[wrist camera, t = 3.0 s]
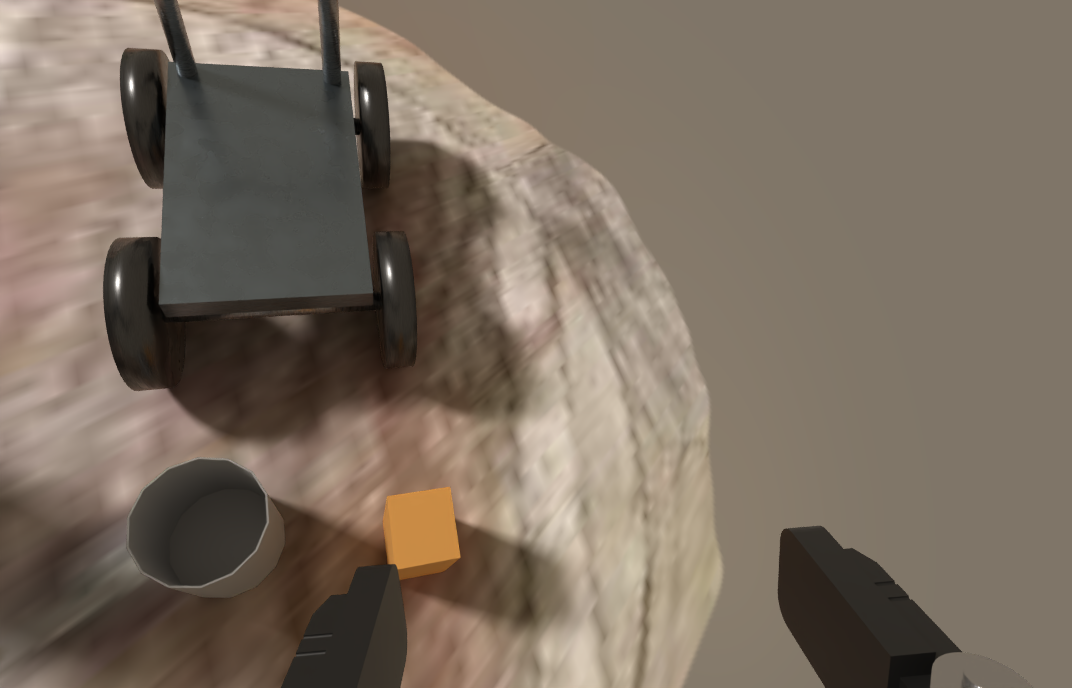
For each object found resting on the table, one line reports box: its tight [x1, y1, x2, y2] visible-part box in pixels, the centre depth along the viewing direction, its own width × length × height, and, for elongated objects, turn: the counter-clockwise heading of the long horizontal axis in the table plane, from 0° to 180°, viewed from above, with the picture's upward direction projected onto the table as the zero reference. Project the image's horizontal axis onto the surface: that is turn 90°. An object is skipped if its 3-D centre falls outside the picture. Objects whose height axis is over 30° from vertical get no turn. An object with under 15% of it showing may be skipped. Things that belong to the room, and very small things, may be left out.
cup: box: [126, 457, 285, 598], centre depth 44 cm, size 8×8×10 cm
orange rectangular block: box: [383, 487, 461, 580], centre depth 48 cm, size 5×4×10 cm
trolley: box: [103, 0, 417, 391], centre depth 48 cm, size 32×21×29 cm
